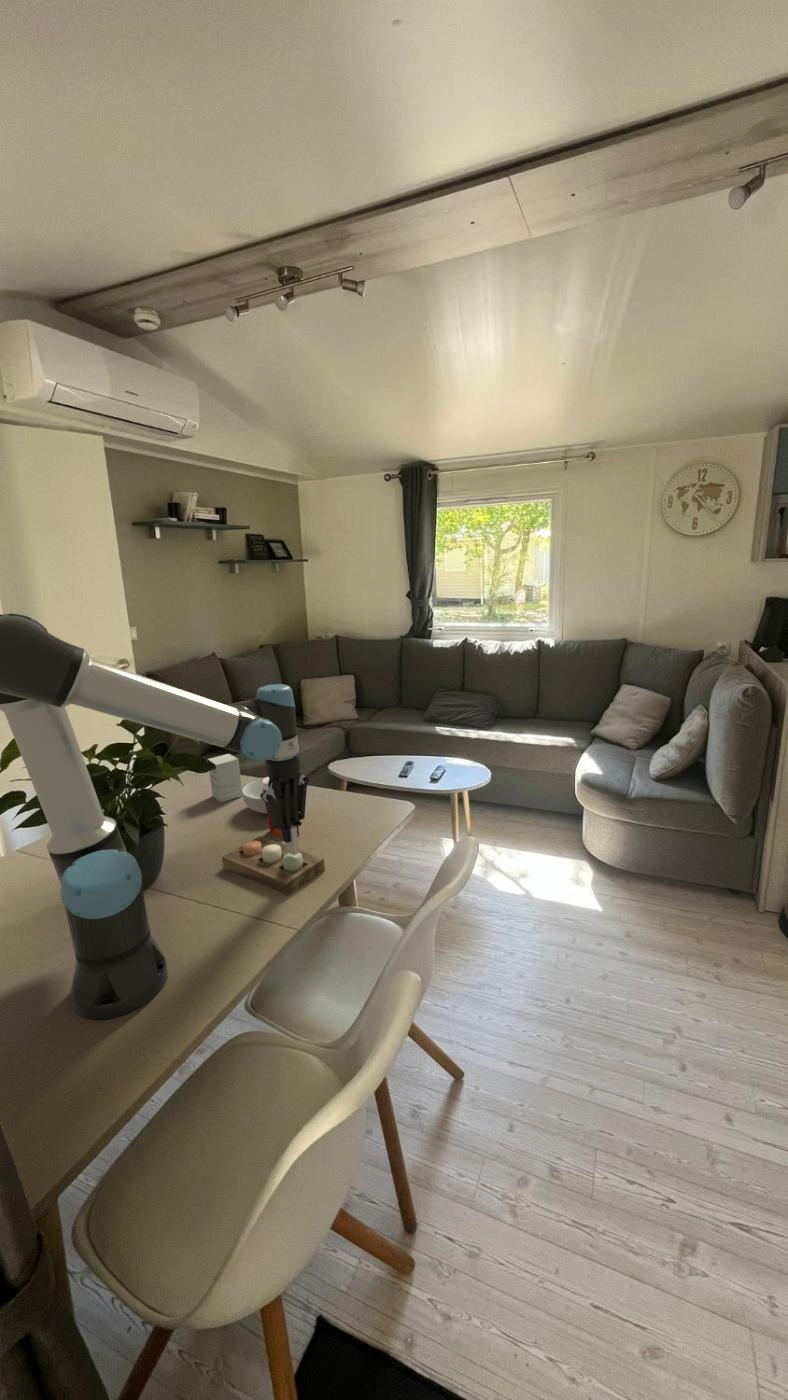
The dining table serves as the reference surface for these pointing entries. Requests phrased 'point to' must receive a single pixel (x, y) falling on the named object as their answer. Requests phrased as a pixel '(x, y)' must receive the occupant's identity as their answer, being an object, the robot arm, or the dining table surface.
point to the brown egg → (252, 848)
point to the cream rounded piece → (271, 854)
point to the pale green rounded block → (292, 862)
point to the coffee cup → (273, 830)
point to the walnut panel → (273, 868)
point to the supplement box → (225, 778)
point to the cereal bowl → (254, 796)
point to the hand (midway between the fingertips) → (292, 852)
